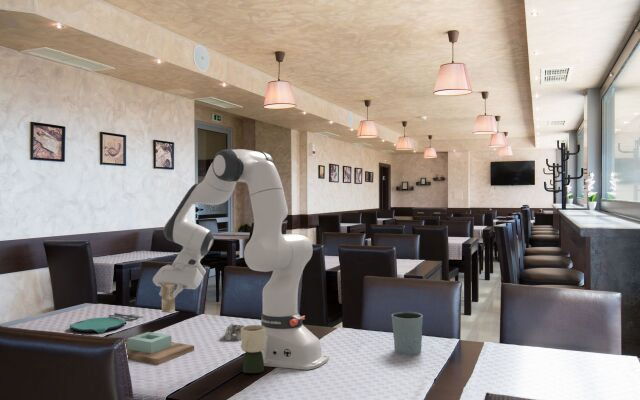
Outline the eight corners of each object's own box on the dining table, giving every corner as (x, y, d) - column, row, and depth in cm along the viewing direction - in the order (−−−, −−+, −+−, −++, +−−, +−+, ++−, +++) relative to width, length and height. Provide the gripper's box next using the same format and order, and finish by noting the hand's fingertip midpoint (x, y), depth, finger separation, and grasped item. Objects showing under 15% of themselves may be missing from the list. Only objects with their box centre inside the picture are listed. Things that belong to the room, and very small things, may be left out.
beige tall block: (174, 311, 190) (174, 284, 190) (170, 312, 188) (169, 285, 188) (166, 310, 192) (166, 283, 192) (161, 311, 190) (161, 284, 190)
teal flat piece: (58, 332, 198) (58, 326, 198) (112, 316, 226) (112, 310, 226) (101, 337, 192) (101, 330, 192) (151, 319, 220) (151, 314, 220)
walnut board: (194, 350, 173) (194, 345, 173) (159, 364, 159) (159, 359, 159) (141, 341, 184) (141, 337, 184) (104, 353, 170) (104, 349, 170)
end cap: (171, 345, 173) (171, 335, 173) (151, 353, 165) (151, 342, 165) (148, 341, 178) (148, 331, 178) (127, 349, 170) (127, 338, 170)
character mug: (252, 364, 158) (252, 322, 158) (273, 367, 155) (272, 324, 155) (232, 376, 148) (232, 331, 148) (254, 380, 145) (254, 333, 145)
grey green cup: (422, 356, 165) (422, 319, 164) (390, 355, 167) (390, 317, 166) (422, 347, 175) (422, 311, 174) (392, 345, 177) (392, 310, 176)
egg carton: (243, 341, 184) (243, 330, 184) (222, 341, 185) (222, 329, 185) (250, 333, 195) (250, 322, 195) (230, 332, 196) (230, 322, 195)
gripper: (160, 259, 201) (141, 288, 192) (201, 261, 192) (183, 292, 183) (168, 269, 205) (150, 298, 196) (209, 272, 196) (192, 303, 187)
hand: (166, 295), depth 190 cm, fingers closed on beige tall block, 4 cm apart
